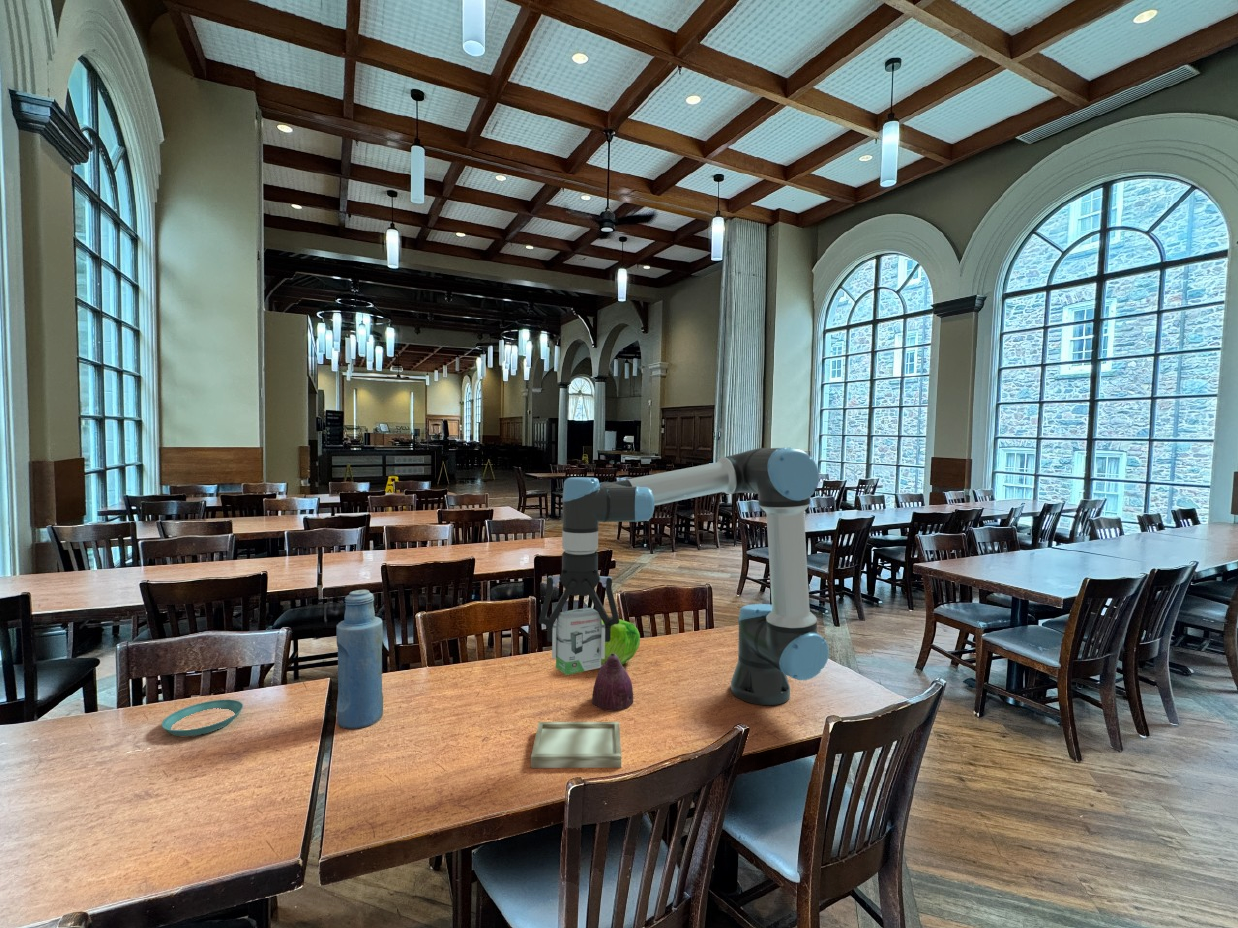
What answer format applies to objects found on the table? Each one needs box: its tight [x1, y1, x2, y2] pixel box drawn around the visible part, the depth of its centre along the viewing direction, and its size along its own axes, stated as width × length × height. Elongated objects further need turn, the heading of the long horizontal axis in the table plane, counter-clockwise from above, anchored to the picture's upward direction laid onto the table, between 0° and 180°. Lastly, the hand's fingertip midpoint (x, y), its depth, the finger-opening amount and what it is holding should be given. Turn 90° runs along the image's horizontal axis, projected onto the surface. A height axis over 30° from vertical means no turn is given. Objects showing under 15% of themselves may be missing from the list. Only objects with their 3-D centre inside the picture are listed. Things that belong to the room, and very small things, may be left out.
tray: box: [530, 721, 622, 769], centre depth 117 cm, size 18×14×2 cm
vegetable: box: [591, 653, 634, 712], centre depth 138 cm, size 10×10×15 cm
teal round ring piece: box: [161, 699, 244, 737], centre depth 125 cm, size 15×15×3 cm
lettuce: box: [601, 618, 641, 666], centre depth 164 cm, size 15×20×14 cm
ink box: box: [555, 607, 602, 676], centre depth 116 cm, size 9×5×12 cm, turn 122°
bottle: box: [336, 589, 384, 730], centre depth 128 cm, size 10×10×30 cm
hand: (578, 656), depth 117 cm, fingers closed on ink box, 9 cm apart
